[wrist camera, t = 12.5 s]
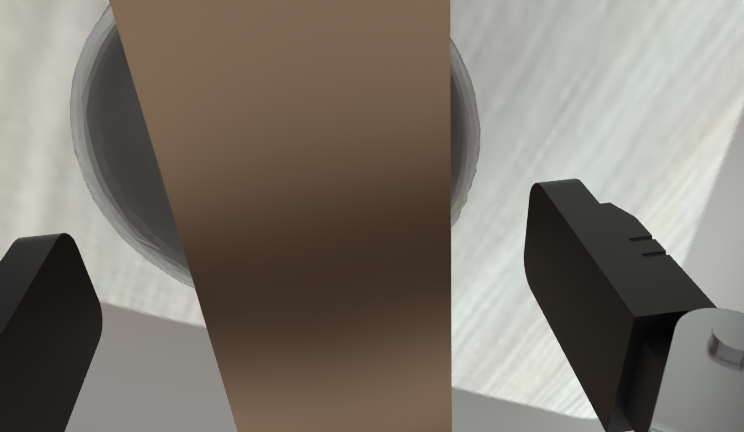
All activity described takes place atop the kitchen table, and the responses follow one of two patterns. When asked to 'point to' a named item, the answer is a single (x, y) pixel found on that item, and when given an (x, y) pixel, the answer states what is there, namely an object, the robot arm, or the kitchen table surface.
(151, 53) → the walnut beam
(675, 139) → the kitchen table surface
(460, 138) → the teacup
